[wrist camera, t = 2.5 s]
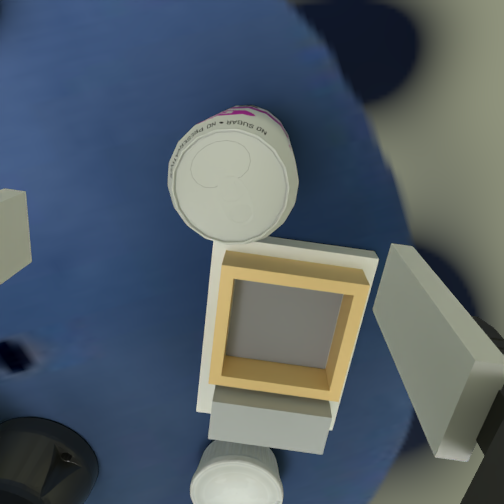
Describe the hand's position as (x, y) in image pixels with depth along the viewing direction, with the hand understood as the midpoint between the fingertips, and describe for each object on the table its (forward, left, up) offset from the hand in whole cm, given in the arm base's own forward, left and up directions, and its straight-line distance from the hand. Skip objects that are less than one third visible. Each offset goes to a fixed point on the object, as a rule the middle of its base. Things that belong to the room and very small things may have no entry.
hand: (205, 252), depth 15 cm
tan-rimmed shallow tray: (-19, -6, -25) cm, 32 cm away
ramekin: (-39, -4, -25) cm, 47 cm away
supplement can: (0, 0, -25) cm, 25 cm away
